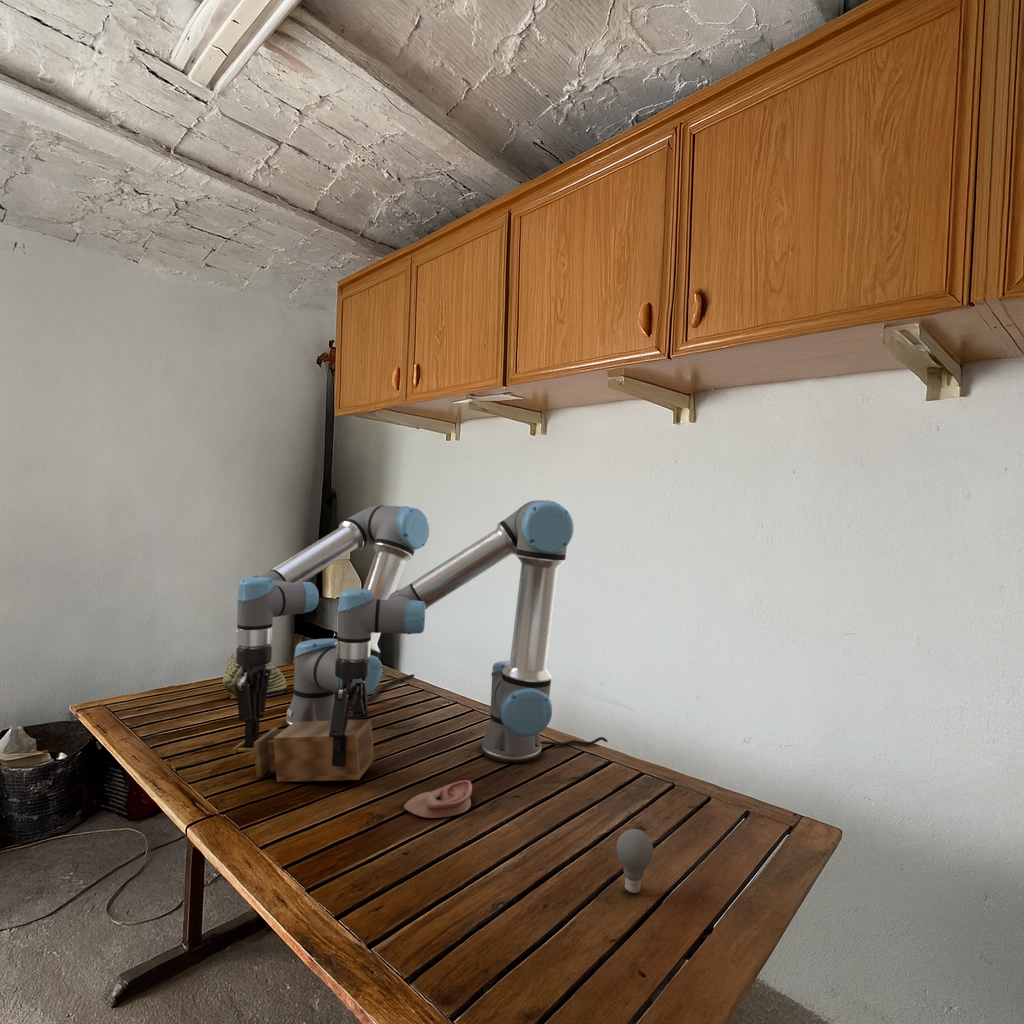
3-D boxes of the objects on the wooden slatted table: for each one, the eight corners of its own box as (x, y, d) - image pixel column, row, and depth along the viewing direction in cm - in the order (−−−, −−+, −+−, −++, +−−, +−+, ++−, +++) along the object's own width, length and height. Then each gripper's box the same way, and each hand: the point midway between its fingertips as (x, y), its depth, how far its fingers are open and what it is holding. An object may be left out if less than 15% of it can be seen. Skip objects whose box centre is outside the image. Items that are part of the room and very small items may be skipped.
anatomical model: (398, 794, 127) (418, 771, 139) (398, 814, 128) (417, 789, 139) (462, 803, 125) (477, 779, 136) (461, 823, 125) (476, 797, 136)
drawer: (231, 777, 141) (228, 743, 141) (252, 760, 151) (250, 728, 150) (331, 774, 139) (328, 739, 139) (346, 757, 148) (344, 725, 148)
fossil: (218, 695, 195) (220, 647, 195) (278, 685, 208) (279, 640, 207) (228, 703, 189) (230, 653, 188) (289, 692, 201) (290, 645, 201)
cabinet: (276, 782, 140) (273, 737, 140) (297, 762, 150) (294, 721, 150) (358, 780, 138) (355, 735, 138) (374, 760, 148) (371, 718, 148)
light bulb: (610, 879, 108) (613, 822, 108) (644, 879, 109) (647, 822, 109) (619, 902, 102) (622, 840, 102) (655, 901, 103) (658, 840, 103)
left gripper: (252, 638, 152) (249, 736, 152) (223, 651, 139) (220, 757, 139) (282, 640, 151) (280, 738, 152) (256, 653, 138) (253, 760, 139)
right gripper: (354, 645, 155) (350, 735, 155) (315, 670, 132) (310, 775, 132) (384, 648, 154) (379, 738, 154) (350, 673, 131) (345, 779, 131)
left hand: (251, 747), depth 146 cm, fingers closed
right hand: (347, 755), depth 143 cm, fingers closed on cabinet, 10 cm apart
